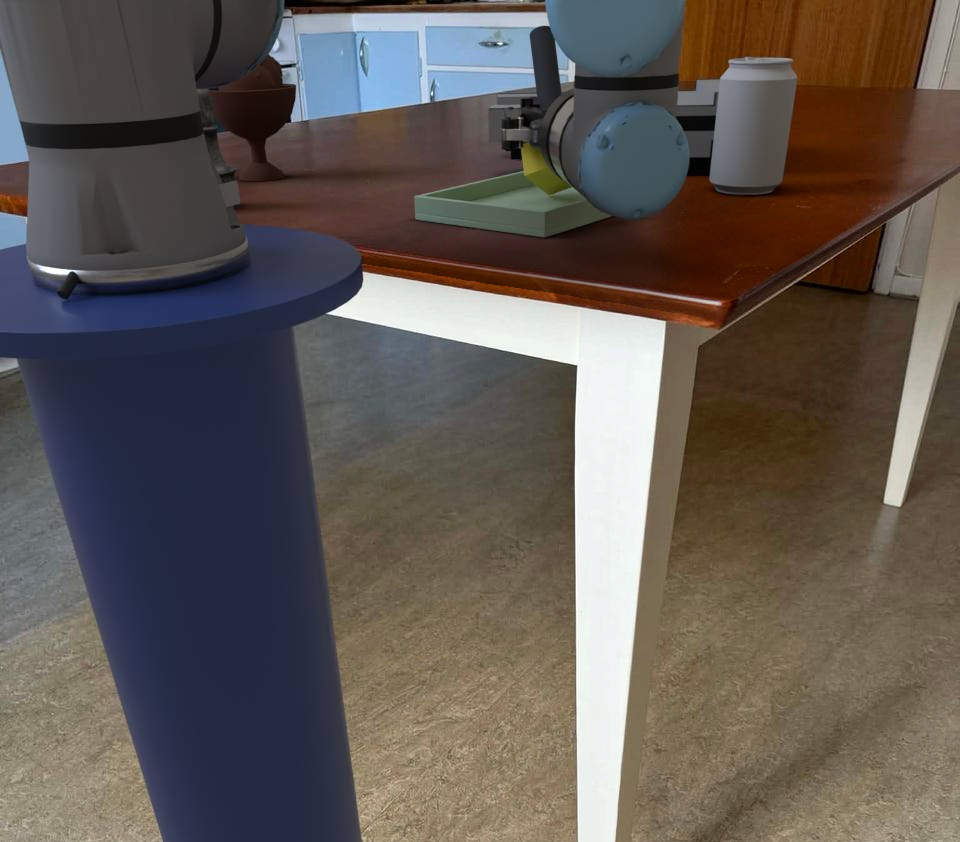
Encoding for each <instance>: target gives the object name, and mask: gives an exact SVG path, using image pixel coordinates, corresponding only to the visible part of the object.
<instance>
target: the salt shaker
mask: <svg viewBox="0 0 960 842" xmlns="http://www.w3.org/2000/svg"><path fill="white" fill-rule="evenodd" d="M197 94H198V100H199V106H200V113H201V119H202V124H203V130H204V136H205V142H206V146H207V149H208V152H209V155H210V157H211V159H212V161H213V163H214V166H215V168H216V170H217V172H218V174H219V176H220V178H221V180H222V183H223V184H224V183H228V182H232V181H236V174H235V173H236V172H237V171H238V168H237V167H236V166H234V165H230V164H229V163H227V162H226V161H225V160H224V157H223V154H222V152H221V149H220V143H219V138H218V129H220V125H218V124H216V123H215V118H214V116H213V110H212V103H211V97H210V93H209V91H208V90H207V89H197ZM240 204H241V203H240ZM240 204H237V205H233V207H234V209H235V210H237V209H239V208H240V207H241V205H240Z"/></svg>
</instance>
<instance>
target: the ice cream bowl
mask: <svg viewBox="0 0 960 842" xmlns="http://www.w3.org/2000/svg"><path fill="white" fill-rule="evenodd" d="M207 90H208V91H209V93H210V97H211V103H212V110H213V116H214V120H215V121H216V122H217V123H218V124H220V125H221V127H223V128H224V129H225V130H226V131H228V132H230V133H231V134H232V135H234V136H235V137H239V138H241V139H243V140H246V141H247V144H248V145H249V147H250V153H251V160H252V161H251V163H250V164H248V165H247V166H246V167H245V168H244V169H243V170H242V171H240V173H239V178H238V179H239V181H245V182H267V181H268V182H269V181H276V180H280V179H284V178H285V174H284V172H283V170H282V169H280V168H279V167H277V166H276V165H274V164H272V163H271V162H269V161H268V159H267V153H266V143H267V139H269V138H271V137H272V136H275V134H277V133H278V132H279V131H280V130H281V129H283V127H284V126H285V125H286V123H287V122H288V121H289V119H290V118H291V116H292V114H293V111H294V107H295V103H296V99H297V84H294V83H284V76H283V69H282V64H281V63H280V62H279V61H278V60H277V59H276V58H275V57H273V56H271V54H270V53H269V54H268V55H267V57H266V58H265V59H264V60H263V61H262V62H261V63H260V64H259V65H258V66H257V67H256V68H255V69H254V70H252V71H251V72H249V73H247V74H246V75H244V76H243V77H242V78H240V79H239V80H237V81H235V82H232V83H230V84H226V85H224V86H222V87H218V88H211V89H207Z"/></svg>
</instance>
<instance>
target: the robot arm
mask: <svg viewBox="0 0 960 842" xmlns="http://www.w3.org/2000/svg"><path fill="white" fill-rule="evenodd" d="M686 3H687V0H544V6H545V11H546V16H547V21H548V26H550V29H551V32H552V34H553V36H554V38H555V43H556V45H557V46H558V48H559V49H560V50H561V52H562V53H563V54H564V55H565V56H566V58H568V59H569V60H570V61H571V62H572V63H574V77H573V78H574V79H573V81H574V82H573V87H572V88H570V89H568V90H566V91H564V92H565V93H563V94H562V95H560V96H559V97H558V98H557V99H556V100H555V101H554V102H553V103H552V104H551V106H550V107H549V108H543V109H539V106H540V104H538V103H536V102H534V98H521V99H520V110H517V109H516V108H513V107H508V108H506V109H504V118H502V119H501V136H502V143H501V150H502V151H505V152H511V150H514V149H516V148H523V141H529V144H530V145H531V147H532V148H535V149H540V150H541V153H542V156H543V158H544V160H545V162H546V164H547V166H548V167H549V169H550V170H551V171H552V172H553V173H554V174H555V175H556V176H557V177H559V178H560V179H561V180H563V181H564V182H565V183H567V184H569V185H570V186H572V187H573V188H574V189H576V190H577V191H578V192H579V193H580V194H581V195H583V196H584V197H585V198H586V199H587V201H588V202H589V203H590V204H592V206H593V207H595V208H597V209H598V210H599V211H601V212H603V213H606V214H610V215H612V216H611V217H616V218H618V219H622V220H631V221H637V220H642V219H645V218H649V217H651V216H654V215H656V214H658V213H659V212H661V211H662V210H664V209H665V208H666V207H668V206H669V204H670V203H672V202H673V200H674V199H675V198H676V197H677V196H678V194H679V193H680V191H681V189H682V187H683V185H684V184H685V181H686V178H687V176H688V175H687V172H688V167H689V146H688V141H687V138H686V135H685V133H684V131H683V128H682V127H681V125H680V124H679V122H678V120H677V118H676V112H677V101H678V90H679V82H680V73H679V71H680V70H679V69H680V61H681V51H682V41H683V34H684V33H683V31H684V22H685V15H686V14H685V12H686ZM284 12H285V0H0V54H1V55H0V56H1V58H2V63H3V66H4V69H5V74H6V76H7V81H8V84H9V85H8V86H9V88H10V92H11V96H12V99H13V103H14V107H15V111H16V115H17V118H18V121H19V124H20V128H21V132H22V136H23V141H24V144H25V148H26V152H27V157H28V188H27V189H28V190H27V212H26V240H25V244H26V251H27V261H28V264H29V268H30V272H31V275H32V279H33V282H34V283H35V284H36V285H37V286H39V287H41V288H43V289H46V290H49V291H53V292H58V295H59V296H60V297H61V298H62V299H68V298H69V296H70V295H71V294H73V295H88V296H115V295H134V294H146V293H156V292H164V291H171V290H177V289H183V288H189V287H194V286H198V285H203V284H207V283H211V282H214V281H218V280H221V279H224V278H227V277H229V276H232V275H234V274H236V273H238V272H240V271H242V270H243V269H245V268H246V267H247V266H248V265H249V263H250V254H249V247H248V241H247V236H246V235H245V231H244V228H243V226H242V225H243V224H242V222H241V221H240V220H239V217H238V215H237V212H236V209H234V207H233V205H237V204H241V197H240V189H239V184H238V180H236V179H235V181H232V182H228V183H224V184H223V183H222V180H221V178H220V176H219V174H218V172H217V170H216V168H215V166H214V163H213V161H212V159H211V157H210V155H209V152H208V149H207V146H206V142H205V136H204V130H203V124H202V119H201V113H200V106H199V100H198V94H197V89H211V88H218V87H222V86H224V85H226V84H230V83H232V82H235V81H237V80H239V79H240V78H242V77H243V76H244V75H246V74H247V73H249V72H251V71H252V70H254V69H255V68H256V67H257V66H258V65H259V64H260V63H261V62H262V61H263V60H264V59H265V58H266V57H267V55H268V54H269V55H270V53H271V51H272V50H273V48H274V45H275V44H276V42H277V39H278V38H279V34H280V31H281V29H282V23H283V19H284V18H283V17H284Z"/></svg>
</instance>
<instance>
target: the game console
mask: <svg viewBox="0 0 960 842" xmlns="http://www.w3.org/2000/svg"><path fill="white" fill-rule="evenodd" d="M719 84H720V78H695V81H694V89H678V101H677V112H676V118H677V120H678V122H679V124H680V125H681V127H682V128H683V131H684V133H685V135H686V138H687V141H688V146H689V167H688V172H687V175H686V176H692V175H693V176H696V175H697V176H699V175H701V176H702V175H709V176H710V169H711V160H712V150H713V141H714V132H715V122H716V113H717V103H718V94H719ZM561 92H562V94H563V93H565V92H566V91H561ZM521 98H534V102H536V103H538V100H537V92H500V93H498V94H497V96H496V104H491V105H490V107H488V109H487V112H488V114H487V115H488V116H487V117H488V118H487V119H488V121H487V122H488V143H489V144H491V143H492V144H497V143H500V144H502V136H501V119H502V118H504V109H506V108H508V107H513V108H516V109H517V110H520V99H521ZM528 142H529V141H523V144H525V143H528ZM510 160H514V161H515V160H522V153H521V148H516V149H514V150H511V151H510Z"/></svg>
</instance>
